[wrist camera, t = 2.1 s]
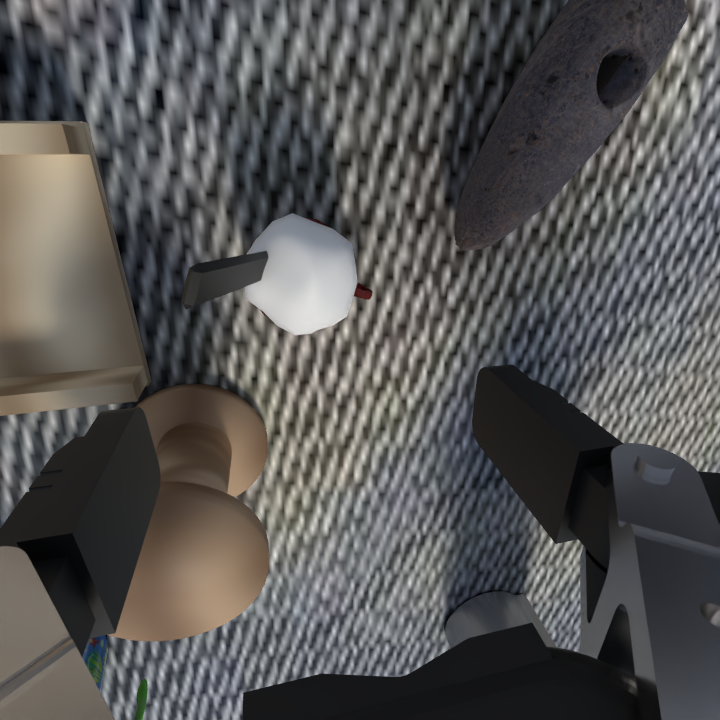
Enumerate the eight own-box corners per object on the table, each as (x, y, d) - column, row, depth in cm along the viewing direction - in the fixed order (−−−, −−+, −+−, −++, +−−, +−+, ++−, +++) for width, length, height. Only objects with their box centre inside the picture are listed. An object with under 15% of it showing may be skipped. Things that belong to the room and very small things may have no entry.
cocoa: (372, 268, 28) (453, 330, 18) (312, 337, 29) (355, 434, 19) (259, 160, 24) (278, 158, 13) (191, 245, 25) (160, 304, 14)
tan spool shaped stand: (259, 376, 29) (257, 481, 20) (273, 487, 34) (277, 619, 24) (104, 392, 28) (16, 516, 18) (139, 507, 32) (84, 658, 22)
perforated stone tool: (469, 260, 29) (525, 285, 23) (410, 219, 27) (454, 235, 21) (617, 45, 25) (731, 5, 19) (561, -22, 23) (668, -90, 17)
